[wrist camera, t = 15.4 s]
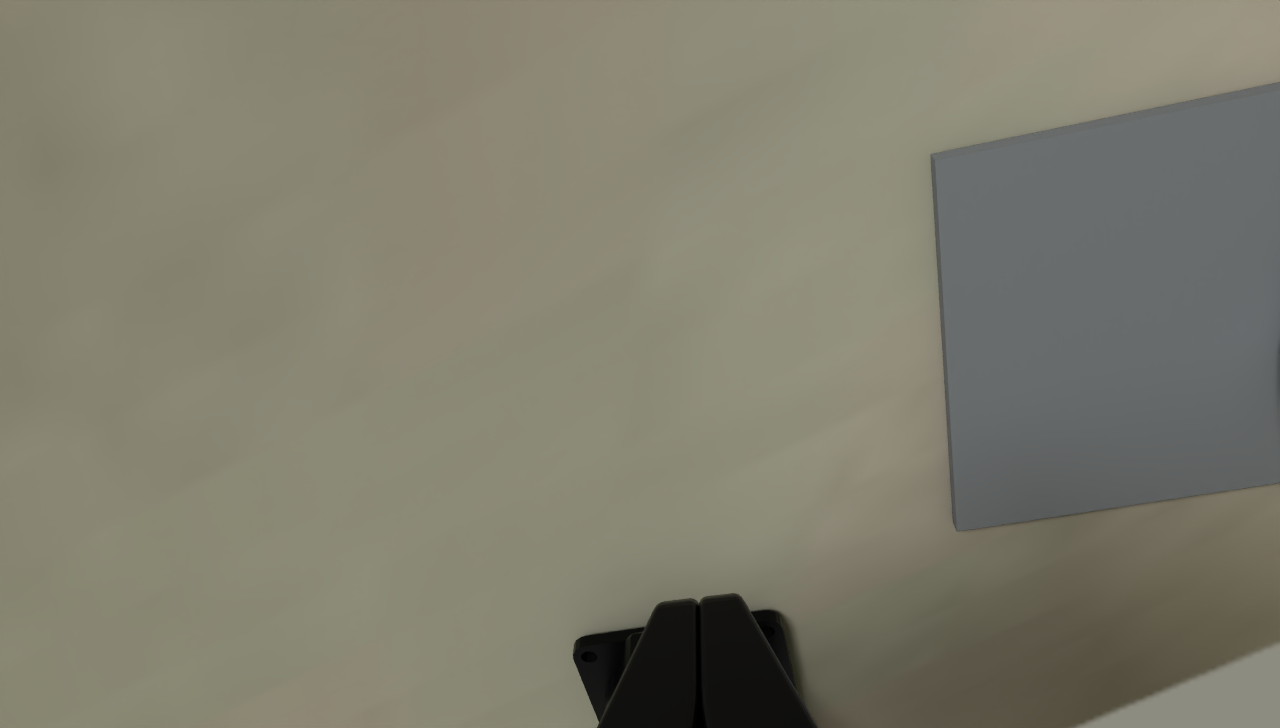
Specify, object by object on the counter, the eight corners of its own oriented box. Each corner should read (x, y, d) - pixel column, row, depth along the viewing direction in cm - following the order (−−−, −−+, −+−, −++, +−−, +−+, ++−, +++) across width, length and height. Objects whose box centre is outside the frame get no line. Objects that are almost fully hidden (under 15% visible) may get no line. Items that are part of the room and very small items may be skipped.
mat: (1459, 444, 24) (1471, 453, 24) (953, 521, 26) (956, 531, 26) (1597, 16, 18) (1614, 21, 18) (930, 154, 20) (935, 161, 20)
